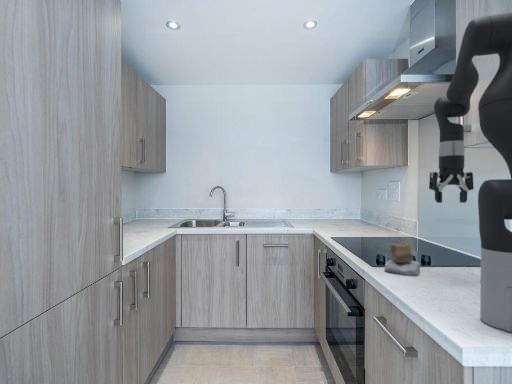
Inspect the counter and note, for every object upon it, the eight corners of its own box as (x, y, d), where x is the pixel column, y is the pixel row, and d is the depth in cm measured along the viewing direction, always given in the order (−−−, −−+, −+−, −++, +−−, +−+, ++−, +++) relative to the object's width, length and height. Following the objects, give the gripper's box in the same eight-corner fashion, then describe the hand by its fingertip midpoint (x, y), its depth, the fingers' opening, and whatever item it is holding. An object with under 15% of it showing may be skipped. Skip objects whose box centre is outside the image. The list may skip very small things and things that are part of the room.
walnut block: (411, 261, 119) (410, 245, 119) (398, 263, 118) (397, 246, 119) (403, 259, 124) (402, 243, 124) (391, 260, 123) (390, 244, 124)
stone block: (419, 282, 114) (420, 270, 122) (418, 269, 113) (420, 258, 121) (383, 279, 120) (387, 267, 128) (382, 267, 119) (386, 256, 127)
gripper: (438, 154, 107) (437, 203, 107) (479, 154, 108) (479, 203, 108) (424, 156, 114) (424, 202, 115) (463, 156, 115) (463, 202, 116)
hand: (451, 202), depth 111 cm, fingers open, 8 cm apart
